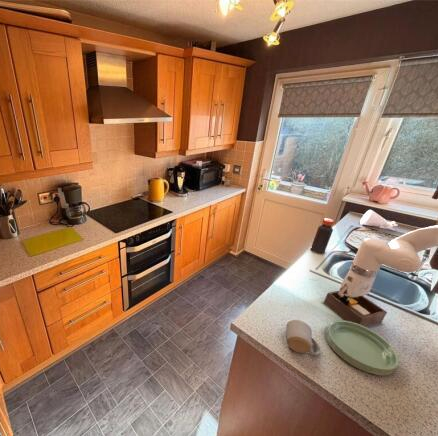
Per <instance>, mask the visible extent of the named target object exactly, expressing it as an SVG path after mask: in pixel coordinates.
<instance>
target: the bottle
mask: <svg viewBox="0 0 438 436" xmlns="http://www.w3.org/2000/svg"><path fill="white" fill-rule="evenodd" d="M334 223H335V220H333V219H330V218H323V219H322V222H321V224H320V225H319V226H318V227H317V229H316V233H315V235H314V237H313V241H312V244H311V247H312V248H311V247H310V250H311V251H312V252H314V253H316V254H319V255H320V254H321V255H322V254H324V253H326V250H327V247H328V245H329V242H330V239H331V237H332V234H333V232H334V229H333V225H334Z"/></svg>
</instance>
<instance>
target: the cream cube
mask: <svg viewBox="0 0 438 436" xmlns="http://www.w3.org/2000/svg"><path fill="white" fill-rule="evenodd" d="M351 309H352V310H353V311H355V312H356V313H357V314H359V315H360V316H361V317H362V316H366V315H370V312H368V311H367V310H365V309H364V308H362V307H361V306H360V305H353V306H351Z"/></svg>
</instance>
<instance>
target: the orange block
mask: <svg viewBox="0 0 438 436" xmlns="http://www.w3.org/2000/svg"><path fill="white" fill-rule="evenodd" d="M345 295H346V296H348V295H347V294H345ZM339 299H340V297H339ZM339 299H338V300H339ZM349 301H350V302H349V304H348V307H349V308H351V306H353V305H357V303H358V302H357V301H356V300H354V299H353V298H350V299H349Z"/></svg>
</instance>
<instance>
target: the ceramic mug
mask: <svg viewBox="0 0 438 436" xmlns="http://www.w3.org/2000/svg"><path fill="white" fill-rule="evenodd" d="M285 328H286V330H285V331H286V332H285V333H286V334H285V335H286V338H285V339H286V344H287V346H288V348H290V349H291V350H293V352H296V353H300V354H307V353H308V354H310V355H312V356H318V355H320V353H321V347H320V345H319V343H318V342H317V340H315V339H314V338H313V331H312V330H313V329H312V328H311V327H310V325H309V324H308V323H306V322H304V321H302V320H299V319H291V320H289V321H288V322H287V323H286V327H285ZM312 346H314V348H315V351H313V350H312Z"/></svg>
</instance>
